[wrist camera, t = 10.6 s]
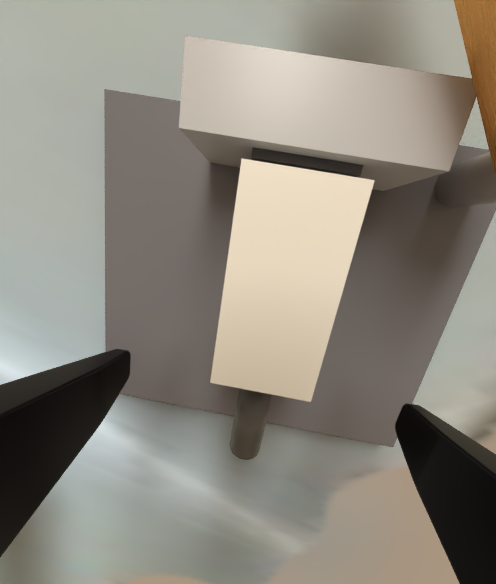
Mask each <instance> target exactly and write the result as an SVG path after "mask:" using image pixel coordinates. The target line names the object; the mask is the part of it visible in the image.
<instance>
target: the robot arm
mask: <svg viewBox="0 0 496 584" xmlns="http://www.w3.org/2000/svg"><path fill="white" fill-rule="evenodd" d="M130 364H131V354H130V352H129V351H128V350H123V349H114V350H111V351H108V352H104V353H101V354H98V355H95V356H92V357H88V358H85V359H82V360H79V361H76V362H72V363H69V364H66V365H63V366H60V367H56V368H53V369H50V370H47V371H44V372H40V373H37V374H34V375H31V376H28V377H24V378H21V379H18V380H15V381H11V382H8V383H5V384H2V385H0V557H1V556H2V554H3V553H4V552H5V550H6V549H7V548H8V546H9V545H10V544H11V542H12V541H13V540H14V538H15V537H16V536H17V534H18V533H19V532H20V530H21V529H22V528H23V526H24V525H25V524H26V522H27V521H28V520H29V518H30V517H31V516H32V514H33V513H34V512H35V510H36V509H37V508H38V507H39V505H40V504H41V503H42V501H43V500H44V499H45V497H46V496H47V495H48V493H49V492H50V491H51V489H52V488H53V487H54V485H55V484H56V483H57V481H58V480H59V479H60V477H61V476H62V475H63V473H64V472H65V471H66V469H67V468H68V467H69V465H70V464H71V463H72V461H73V460H74V459H75V457H76V456H77V455H78V453H79V452H80V451H81V449H82V448H83V447H84V445H85V444H86V443H87V441H88V440H89V439H90V437H91V436H92V435H93V433H94V432H95V431H96V429H97V428H98V427H99V425H100V424H101V422H102V421H103V419H104V418H105V416H106V415H107V413H108V411H109V410H110V408H111V407H112V405H113V403H114V402H115V400H116V398H117V397H118V395H119V393H120V392H121V390H122V389H123V387H124V385H125V384H126V382H127V380H128V378H129V376H130ZM395 431H396V434H397V437H398V440H399V443H400V445H401V448H402V451H403V454H404V456H405V459H406V462H407V465H408V467H409V470H410V473H411V476H412V478H413V481H414V484H415V486H416V488H417V491H418V493H419V495H420V497H421V499H422V502H423V504H424V506H425V508H426V511H427V513H428V515H429V517H430V519H431V522H432V524H433V526H434V528H435V530H436V533H437V535H438V537H439V539H440V541H441V544H442V546H443V548H444V550H445V552H446V555H447V557H448V559H449V561H450V563H451V566H452V568H453V570H454V572H455V574H456V576H457V579H458V581H459V583H460V584H496V454H494V453H493V452H491V451H489V450H488V449H486V448H485V447H483V446H482V445H480V444H479V443H477V442H475V441H474V440H472V439H471V438H469V437H468V436H466V435H465V434H463V433H461V432H460V431H458V430H457V429H455V428H454V427H452V426H451V425H449V424H447V423H446V422H444V421H443V420H441V419H440V418H438V417H437V416H435V415H433V414H432V413H430V412H429V411H427V410H426V409H424V408H422V407H421V406H418V405H414V404H408V403H407V404H404V405H403V406H402V408H401V411H400V413H399V416H398V418H397V420H396V423H395Z"/></svg>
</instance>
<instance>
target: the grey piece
mask: <svg viewBox="0 0 496 584" xmlns="http://www.w3.org/2000/svg"><path fill="white" fill-rule="evenodd" d="M475 99H476V91H475V87H474V83H473V79H470V78H464V77H457V76H450V75H443V74H437V73H430V72H423V71H417V70H410V69H403V68H397V67H390V66H383V65H377V64H370V63H363V62H357V61H350V60H343V59H337V58H330V57H323V56H316V55H310V54H303V53H296V52H290V51H283V50H276V49H270V48H263V47H256V46H250V45H243V44H236V43H230V42H223V41H216V40H210V39H203V38H196V37H189V36H185V47H184V61H183V75H182V89H181V101H176V100H169V99H163V98H157V97H150V96H144V95H138V94H131V93H125V92H119V91H112V90H106V89H105V314H106V352H108V351H111V350H114V349H123V350H128V351H129V352H130V354H131V364H130V376H129V378H128V380H127V382H126V384H125V385H124V387H123V389H122V390H121V392H120V393H119V394H123V395H128V396H133V397H139V398H144V399H149V400H154V401H159V402H164V403H169V404H174V405H179V406H185V407H190V408H195V409H200V410H205V411H210V412H215V413H220V414H226V415H231V416H235V411H236V405H237V400H238V394H239V389H240V388H235V387H230V386H225V385H220V384H214V383H210V380H211V373H212V366H213V359H214V352H215V344H216V337H217V330H218V323H219V316H220V309H221V302H222V295H223V287H224V280H225V273H226V266H227V259H228V252H229V245H230V238H231V230H232V223H233V216H234V209H235V202H236V195H237V188H238V181H239V173H240V166H241V159H248V160H254V161H260V162H266V163H272V164H278V165H285V166H291V167H297V168H303V169H309V170H315V171H321V172H327V173H333V174H340V175H346V176H352V177H358V178H364V179H370V180H375V181H374V185H373V188H372V191H371V195H370V198H369V202H368V205H367V209H366V212H365V216H364V219H363V223H362V226H361V230H360V233H359V237H358V240H357V244H356V247H355V251H354V254H353V257H352V261H351V264H350V268H349V271H348V275H347V278H346V282H345V285H344V289H343V292H342V296H341V299H340V303H339V306H338V310H337V313H336V316H335V320H334V323H333V327H332V330H331V334H330V337H329V341H328V344H327V348H326V351H325V355H324V358H323V362H322V365H321V369H320V372H319V376H318V379H317V382H316V386H315V389H314V393H313V396H312V400H311V402H308V401H303V400H298V399H293V398H287V397H282V396H277V395H272V396H271V401H270V405H269V409H268V414H267V418H266V423H272V424H277V425H282V426H287V427H292V428H297V429H302V430H307V431H313V432H318V433H323V434H328V435H333V436H338V437H343V438H348V439H353V440H359V441H364V442H369V443H374V444H379V445H384V446H389V447H393V446H394V444H395V442H396V439H397V434H396V431H395V423H396V420H397V418H398V416H399V413H400V411H401V408H402V406H403V405H404V404H407V403H408V404H412V402H413V400H414V398H415V395H416V393H417V391H418V388H419V386H420V384H421V382H422V379H423V377H424V375H425V372H426V370H427V368H428V365H429V363H430V361H431V358H432V356H433V354H434V351H435V349H436V347H437V345H438V342H439V340H440V338H441V335H442V333H443V331H444V328H445V326H446V324H447V321H448V319H449V317H450V315H451V312H452V310H453V308H454V305H455V303H456V301H457V298H458V296H459V294H460V291H461V289H462V287H463V285H464V282H465V280H466V278H467V275H468V273H469V271H470V268H471V266H472V264H473V261H474V259H475V257H476V254H477V252H478V250H479V248H480V245H481V243H482V241H483V238H484V236H485V234H486V231H487V229H488V227H489V224H490V222H491V220H492V218H493V215H494V213H495V211H496V176H495V172H494V168H493V164H492V159H491V155H490V151H489V150H486V149H480V148H474V147H467V146H461V145H459V143H460V140H461V137H462V135H463V132H464V129H465V126H466V124H467V121H468V118H469V116H470V113H471V110H472V107H473V105H474V102H475Z"/></svg>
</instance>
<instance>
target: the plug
mask: <svg viewBox="0 0 496 584" xmlns="http://www.w3.org/2000/svg"><path fill="white" fill-rule="evenodd" d="M374 181H375V180H370V179H364V178H358V177H352V176H346V175H340V174H333V173H327V172H321V171H315V170H309V169H303V168H297V167H291V166H285V165H278V164H272V163H266V162H260V161H254V160H248V159H241V166H240V173H239V181H238V188H237V195H236V202H235V209H234V216H233V223H232V230H231V238H230V245H229V252H228V259H227V266H226V273H225V280H224V287H223V295H222V302H221V309H220V316H219V323H218V330H217V337H216V344H215V352H214V359H213V366H212V373H211V380H210V383H214V384H220V385H225V386H230V387H235V388H240V389H239V394H238V400H237V405H236V411H235V416H234V422H233V427H232V433H231V438H230V449H231V451H232V453H233V454H234V455H235V456H237V457H238V458H240V459H244V460H248V459H252V458H254V457H255V456H256V455H257V454H258V452H259V449H260V444H261V440H262V436H263V431H264V427H265V423H266V418H267V414H268V409H269V405H270V401H271V396H272V395H277V396H282V397H287V398H293V399H298V400H303V401H308V402H311V400H312V396H313V393H314V389H315V386H316V382H317V379H318V376H319V372H320V369H321V365H322V362H323V358H324V355H325V351H326V348H327V344H328V341H329V337H330V334H331V330H332V327H333V323H334V320H335V316H336V313H337V310H338V306H339V303H340V299H341V296H342V292H343V289H344V285H345V282H346V278H347V275H348V271H349V268H350V264H351V261H352V257H353V254H354V251H355V247H356V244H357V240H358V237H359V233H360V230H361V226H362V223H363V219H364V216H365V212H366V209H367V205H368V202H369V198H370V195H371V191H372V188H373V185H374Z"/></svg>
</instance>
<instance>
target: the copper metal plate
mask: <svg viewBox="0 0 496 584" xmlns="http://www.w3.org/2000/svg"><path fill="white" fill-rule="evenodd" d="M454 2H455V6H456V11H457V15H458V19H459V23H460V28H461V32H462V36H463V40H464V45H465V49H466V53H467V57H468V62H469V66H470V70H471V74H472V79H473V83H474V87H475V91H476V96H477V100H478V104H479V108H480V113H481V117H482V121H483V125H484V130H485V134H486V138H487V142H488V147H489V151H490V155H491V159H492V164H493V168H494V172H495V176H496V0H454Z"/></svg>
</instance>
